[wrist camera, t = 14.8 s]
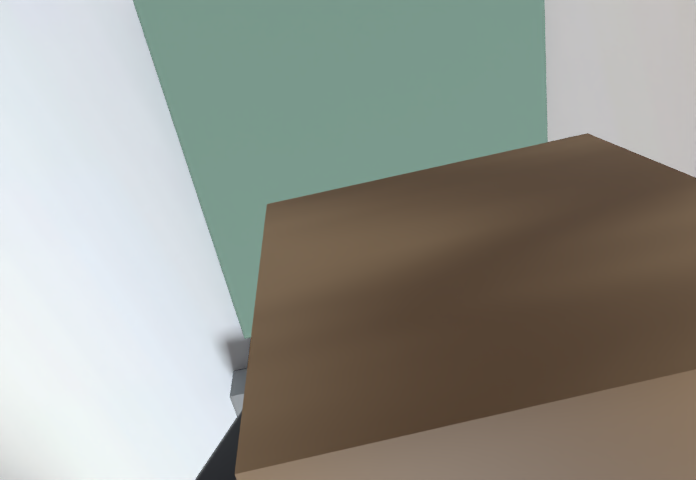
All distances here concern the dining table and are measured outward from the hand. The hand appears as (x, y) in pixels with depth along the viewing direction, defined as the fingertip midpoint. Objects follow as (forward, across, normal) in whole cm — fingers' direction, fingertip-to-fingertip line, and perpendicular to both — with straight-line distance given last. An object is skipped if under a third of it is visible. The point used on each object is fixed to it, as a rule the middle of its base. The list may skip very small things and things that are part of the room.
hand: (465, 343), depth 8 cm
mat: (+11, 0, 0) cm, 11 cm away
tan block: (+1, 0, 0) cm, 1 cm away
